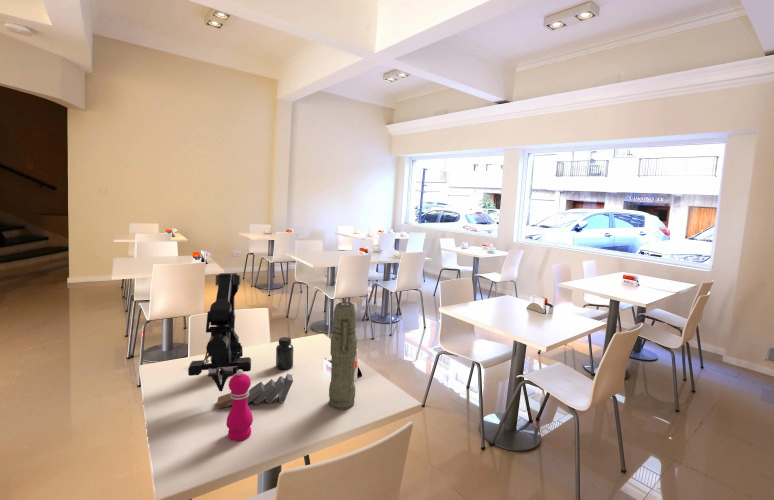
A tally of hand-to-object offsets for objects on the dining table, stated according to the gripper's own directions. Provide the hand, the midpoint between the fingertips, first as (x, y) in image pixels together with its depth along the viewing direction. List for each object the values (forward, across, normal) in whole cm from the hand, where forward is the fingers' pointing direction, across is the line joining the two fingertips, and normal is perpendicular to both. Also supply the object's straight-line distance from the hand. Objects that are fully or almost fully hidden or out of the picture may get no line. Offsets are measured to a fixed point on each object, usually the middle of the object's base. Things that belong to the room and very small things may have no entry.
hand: (220, 390), depth 135 cm
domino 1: (+4, +1, 0) cm, 4 cm away
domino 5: (+5, -19, 0) cm, 20 cm away
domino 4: (+4, -15, 0) cm, 16 cm away
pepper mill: (+5, -7, +19) cm, 21 cm away
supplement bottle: (+5, -22, -27) cm, 35 cm away
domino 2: (+4, -7, 0) cm, 8 cm away
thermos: (+5, -39, +7) cm, 40 cm away
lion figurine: (+5, +3, -38) cm, 39 cm away
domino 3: (+4, -11, 0) cm, 12 cm away
